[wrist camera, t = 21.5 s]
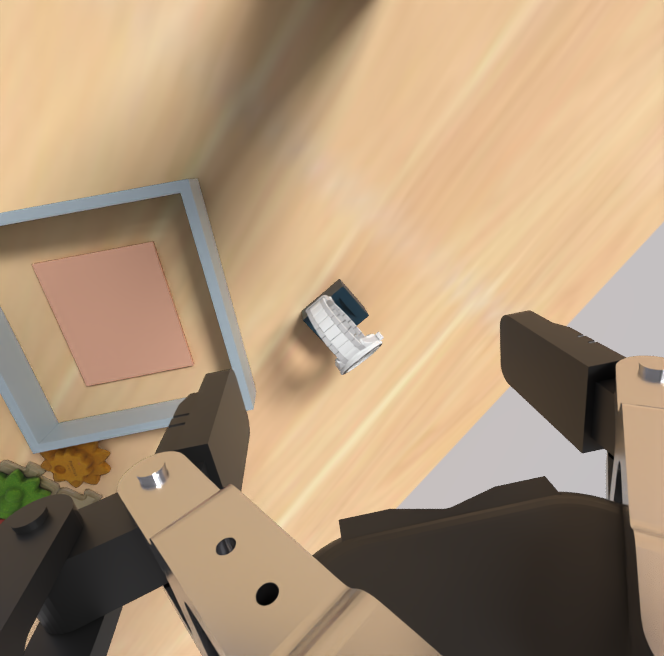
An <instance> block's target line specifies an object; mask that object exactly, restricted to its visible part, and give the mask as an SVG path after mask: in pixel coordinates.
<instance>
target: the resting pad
mask: <svg viewBox="0 0 664 656" xmlns="http://www.w3.org/2000/svg"><path fill="white" fill-rule="evenodd" d="M32 266H33V268H34V271H35V273H36V275H37V277H38V280H39V282H40V284H41V286H42V288H43V291H44V293H45V295H46V297H47V299H48V302H49V304H50V306H51V308H52V311H53V313H54V315H55V317H56V319H57V322H58V324H59V326H60V328H61V330H62V333H63V335H64V337H65V339H66V341H67V344H68V346H69V348H70V350H71V353H72V355H73V357H74V359H75V361H76V364H77V366H78V368H79V370H80V372H81V375H82V377H83V379H84V381H85V384H86V386H91V385H96V384H101V383H106V382H111V381H116V380H121V379H126V378H131V377H136V376H142V375H147V374H152V373H157V372H162V371H167V370H172V369H177V368H182V367H187V366H192V365H194V362H193V359H192V356H191V353H190V350H189V347H188V344H187V341H186V338H185V335H184V332H183V329H182V326H181V323H180V320H179V317H178V314H177V311H176V308H175V305H174V302H173V299H172V296H171V293H170V290H169V287H168V284H167V281H166V278H165V275H164V272H163V269H162V266H161V263H160V260H159V257H158V254H157V251H156V248H155V245H154V242H147V243H142V244H137V245H131V246H126V247H120V248H115V249H110V250H104V251H99V252H94V253H88V254H83V255H78V256H72V257H67V258H61V259H56V260H51V261H45V262H40V263H35V264H32Z"/></svg>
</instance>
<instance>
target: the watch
mask: <svg viewBox="0 0 664 656" xmlns="http://www.w3.org/2000/svg"><path fill="white" fill-rule="evenodd" d="M368 316H369V315H368V313H367V311H366V310H365V308H364V306H363V305H362V304H361V303H360V302H359V301H358V299H357V298H356V297H355V296H354V295H353V294H352V293H351V291H350V290H349V289H348V288H347V287H346V286H345V285H344V283H343V282H342V281H341V280H340V279H339V280H337V281H336V282H335V283H334V284H333V285H332V286H330V287H329V288H328V289H327V290H326V291H325V292H323V293H322V294H321V295H320V296H319V297H318V298H316V299H315V300H314V301H313V302H312V303H311V304H309V305H308V306H307V307H306V308H305V309H303V310H302V318H303V321H304V322H305V323H306V324H307V325H308V326H309V327H310V328H311V329H312V331H313V332H314V333H315V334H316V335H317V336H318V337H319V338H320V339H321V340H322V341H323V342H324V343H325V344H326V345H327V347H329V349H330V350H331V351H332V352H333V353H334V355H336V357H337V359H335V361H336V362H335V365H336V367H337V368H338V369H339V371H340V373H341V375H344V374H346V373H347V372H349V371H351V370H352V369H354V368H355V367H357V366H358V365H359V364H361V363H362V362H363V361H364V360H366V359H367V358H368V357H369V356H371V355H372V354H373V353H374V352H375V351H376V350H377V349H378V348H379V347H380V346H381V345H382V341H379V340H382V339H383V336H382V335H381V334H380V333H379V332H377V333H376V334H375V335H374V334H369V335H367V336H364V335H363V333H362V332H361V331H360V329H359V328H358V327H356V326H357V325H358V324H359V323H361V322H362V321H363V320H364V319H365V318H367V317H368ZM355 327H356V328H355Z"/></svg>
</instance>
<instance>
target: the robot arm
mask: <svg viewBox="0 0 664 656" xmlns="http://www.w3.org/2000/svg"><path fill="white" fill-rule="evenodd" d="M500 351H501V369H502V373H503V375H504V378H505V380H506V381H507V383H508V384H509V385H510V386H511V387H512V388H514V389H515V390H516V391H517V392H518V393H519V394H520V395H521V396H522V397H523V398H524V399H525V400H526V401H527V402H529V404H530V405H532V406H533V407H534V408H535V409H536V410H537V411H538V412H539V413H540V414H541V415H542V416H543V417H544V418H545V419H547V420H548V421H549V422H550V423H551V424H552V425H553V426H554V427H555V428H556V429H557V430H558V431H559V432H560V433H561V434H562V435H563V436H564V437H565V438H566V439H568V440H569V441H570V442H571V443H572V444H573V445H574V446H575V447H576V448H577V449H578V450H579V451H580V452H581V453H586V452H591V451H596V450H600V449H605V450H607V458H606V499H604V498H600V497H596V496H592V495H586V494H580V493H571V492H558V491H557V490H556V489H555V487H554V486H553V485H552V484H551V483H550V482H549V481H548V479H547V478H546V477H545V476H543V477H538V478H534V479H529V480H524V481H519V482H515V483H510V484H506V485H501V486H496V487H493V488H491V489H489V490H487V491H485V492H483V493H481V494H478V495H476V496H475V497H472V498H470V499H468V500H466V501H464V502H462V503H460V504H457V505H455V506H453V507H451V508H447V509H388V510H383V511H378V512H374V513H369V514H364V515H360V516H355V517H350V518H345V519H341V520H339V525H340V532H341V538H339V539H337V540H335V541H333V542H331V543H330V544H328V545H326V546H325V547H323V548H321V549H320V550H319V551H317V552H316V553H315V554H314V555H311V554H310V553H309V552H308V551H306V550H305V549H304V548H303V547H302V546H301V545H300V544H299V543H298V542H296V541H295V540H294V539H293V538H292V537H291V536H290V535H289V534H287V533H286V532H285V531H284V530H283V529H282V528H281V527H280V526H279V525H277V524H276V523H275V522H274V521H273V520H272V519H271V518H270V517H269V516H267V515H266V514H265V513H264V512H263V511H262V510H261V509H260V508H259V507H257V506H256V505H255V504H254V503H253V502H252V501H251V500H250V499H248V498H247V497H246V496H245V495H244V494H243V493H242V492H241V489H242V483H243V476H244V469H245V463H246V456H247V450H248V443H249V436H250V427H249V420H248V415H247V412H246V408H245V405H244V401H243V398H242V395H241V391H240V388H239V384H238V381H237V377H236V375H235V372H234V371H233V369H229V370H224V371H218V372H213V373H208V374H206V375H205V377H204V380H203V382H202V384H201V387H200V389H199V392H197V393H192V394H190V395H189V396H188V397H186V398H185V399H184V400H183V401H182V402H181V403H180V404H179V405H178V407H177V409H176V411H175V413H174V415H173V418H172V419H171V421H170V424H169V428H167V430H166V432H165V434H164V436H163V438H162V440H161V442H160V444H159V446H158V448H157V450H156V452H155V455H152V456H149V457H147V458H145V459H143V460H141V461H140V462H138V463H136V464H135V465H134V466H132V467H131V468H130V469H129V470H128V471H127V472H126V473H125V474H124V475H123V476H122V478H121V479H120V481H119V483H118V486H117V493H115V494H113V495H111V496H109V497H106V498H104V499H102V500H99V501H97V502H94V503H92V504H90V505H87V506H85V507H82V508H80V509H77V507H76V505H75V503H74V501H73V499H72V498H71V497H70V496H69V495H66V494H55V495H50V496H46V497H43V498H40V499H38V500H36V501H33V502H31V503H29V504H27V505H26V506H24V507H22V508H21V509H19V510H17V511H16V512H14V513H13V514H12V515H10V516H9V517H8V518H7V519H5V520H4V521H3V522H2V523H1V524H0V656H106V655H107V652H108V649H109V646H110V643H111V640H112V637H113V634H114V631H115V628H116V625H117V622H118V619H119V616H120V613H121V610H122V606H123V605H125V604H127V603H129V602H131V601H133V600H135V599H137V598H139V597H141V596H143V595H145V594H147V593H149V592H151V591H153V590H155V589H157V588H159V587H161V586H162V587H163V589H164V591H165V593H166V595H167V596H168V598H169V600H170V601H171V603H172V605H173V607H174V608H175V610H176V612H177V613H178V615H179V617H180V619H181V620H182V622H183V624H184V625H185V627H186V629H187V631H188V632H189V634H190V636H191V637H192V639H193V641H194V643H195V644H196V646H197V648H198V649H199V651H200V653H201V655H202V656H664V358H663V357H655V356H633V357H628V358H626V357H624V356H622V355H620V354H618V353H617V352H615V351H613V350H611V349H609V348H607V347H606V346H604V345H602V344H600V343H598V342H594V340H592V339H591V338H589V337H587V336H583V334H581V333H579V332H578V331H576V330H574V329H572V328H570V327H567V326H563V325H559V324H555V323H552V322H550V321H549V320H547V319H545V318H543V317H541V316H540V315H538V314H536V313H534V312H532V311H524V312H519V313H514V314H509V315H504V316H503V317H502V318H501V321H500ZM36 618H38V620H39V621H40V622H39V624H38V626H37V628H36V630H35V632H34V634H33V635H32V637H31V639H30V641H29V643H28V645H27V647H26V649H25V643H26V639H27V636H28V634H29V631H30V629H31V627H32V625H33V623H34V621H35V620H36ZM24 650H25V651H24Z"/></svg>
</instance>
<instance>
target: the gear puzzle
mask: <svg viewBox="0 0 664 656" xmlns="http://www.w3.org/2000/svg"><path fill="white" fill-rule="evenodd" d="M40 454H41V455H42V456H43V457H44V458H45V460H44V461H43V463H42V464H41V466H39V465H37V464H35V463H33V462H28V464H27V465H26V468H25V467H22V466H20V465H18V464H16V463H14V462H11V461H9V460H4V461H2V462H1V463H0V524H1V523H2V522H3V521H4V520H5V519H7V518H8V517H9V516H10V515H12V514H13V513H14V512H16V511H17V510H19V509H21V508H22V507H24V506H26V505H27V504H29V503H31V502H33V501H36V500H38V499H40V498H43V497H46V496H50V495H55V494H66V495H69V496H70V497H71V498H72V499H73V501H74V503H75V505H76V507H77V509H80V508H82V507H85V506H87V505H90V504H92V503H94V502H97V501H99V500H100V499H101V498H102V495H100V494H98V493H96V492H94V491H91V490H89V489H86V490H85V491H84V495H83V494H80V493H78V492H76V491H74V490H71V489H69V488H66V487H63V488H60V485H59V484H58V483H56V482H61V481H65V480H67V481H68V482H69V483H70V484H71V485H72V486H74V487H75V488H77V487H79V486H80V485H81V484H82V483H83V481H84V482H86V483H89V484H97V483H98V482H99V481H100V475H103V474H106V473H108V472H109V471H110V470H111V467H110V466H109V465H108V464H107V463H106V462H105V460H106V459H107V457H108V456H109V455H110V452H109V451H107V450H104V449H100V448H98V441H94V442H89V443H84V444H79V445H74V446H69V447H64V448H59V449H54V450H49V451H44V452H40ZM46 470H47V471H51V472H52V473H53V478H54V481H56V482H54V481H52V480H50V479H48V478H46V477H44V476H42V474H44V473H45V472H46Z"/></svg>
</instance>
